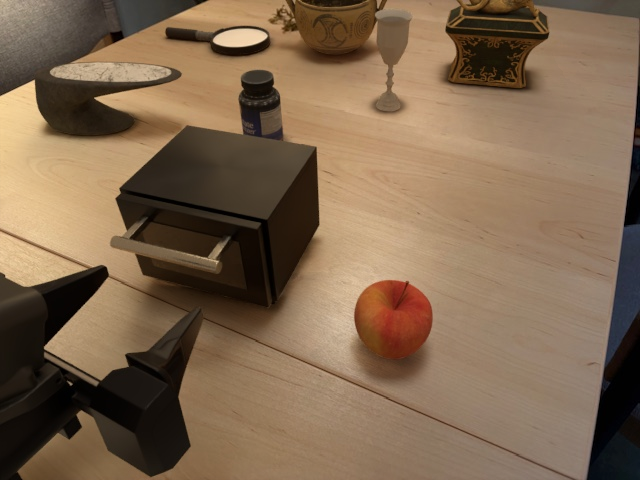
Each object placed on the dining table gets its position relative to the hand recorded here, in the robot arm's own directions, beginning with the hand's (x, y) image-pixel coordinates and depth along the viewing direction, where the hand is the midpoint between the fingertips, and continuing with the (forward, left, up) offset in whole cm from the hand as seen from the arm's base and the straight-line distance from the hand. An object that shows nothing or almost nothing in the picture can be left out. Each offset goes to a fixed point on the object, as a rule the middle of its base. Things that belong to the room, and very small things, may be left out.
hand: (151, 289), depth 39 cm
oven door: (+8, +6, -13) cm, 16 cm away
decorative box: (+79, -3, -15) cm, 80 cm away
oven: (+18, +7, -15) cm, 24 cm away
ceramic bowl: (+79, +27, -15) cm, 85 cm away
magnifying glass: (+71, +52, -15) cm, 89 cm away
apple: (+15, -14, -15) cm, 25 cm away
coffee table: (+35, +44, -15) cm, 58 cm away
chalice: (+61, +7, -15) cm, 63 cm away
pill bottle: (+41, +19, -15) cm, 47 cm away
